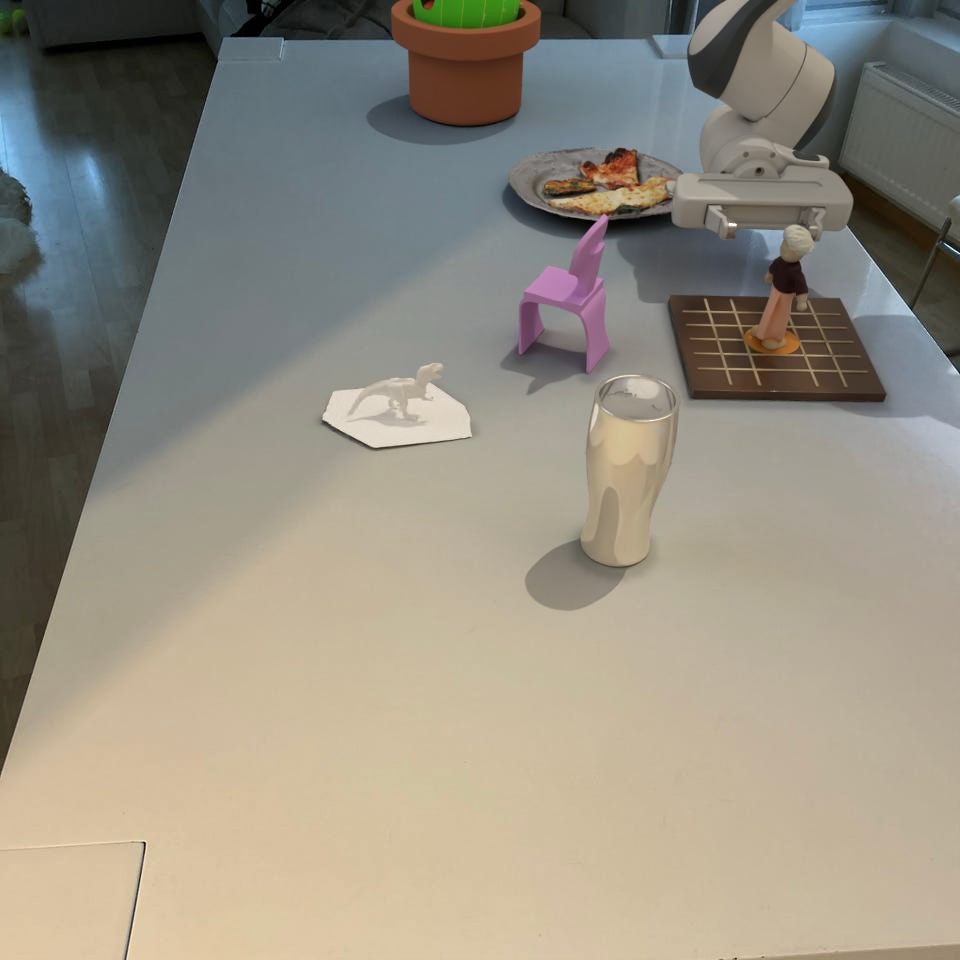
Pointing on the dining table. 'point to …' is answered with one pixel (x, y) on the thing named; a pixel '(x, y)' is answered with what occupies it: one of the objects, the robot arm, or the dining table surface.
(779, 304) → the grandmother figurine
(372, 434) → the dinosaur figurine
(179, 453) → the dining table surface
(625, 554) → the beer glass
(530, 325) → the toy chair
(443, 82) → the potted cactus
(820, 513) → the dining table surface
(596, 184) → the food plate
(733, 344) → the game board
